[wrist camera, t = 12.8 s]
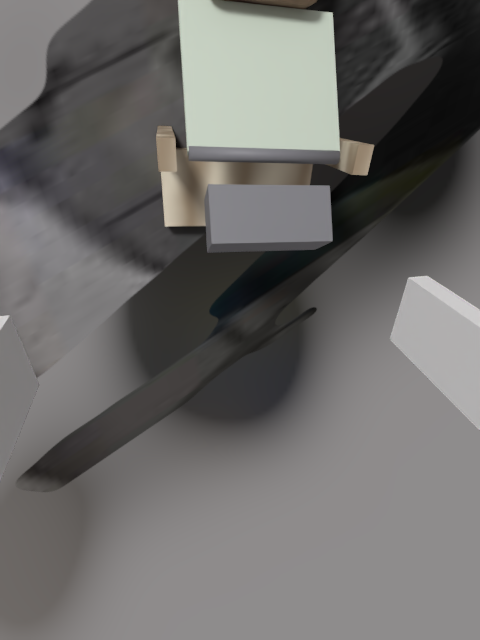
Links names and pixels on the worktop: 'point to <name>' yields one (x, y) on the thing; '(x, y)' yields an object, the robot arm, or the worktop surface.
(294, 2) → the wooden block
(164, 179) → the trapdoor frame
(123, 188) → the worktop surface
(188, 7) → the trapdoor
